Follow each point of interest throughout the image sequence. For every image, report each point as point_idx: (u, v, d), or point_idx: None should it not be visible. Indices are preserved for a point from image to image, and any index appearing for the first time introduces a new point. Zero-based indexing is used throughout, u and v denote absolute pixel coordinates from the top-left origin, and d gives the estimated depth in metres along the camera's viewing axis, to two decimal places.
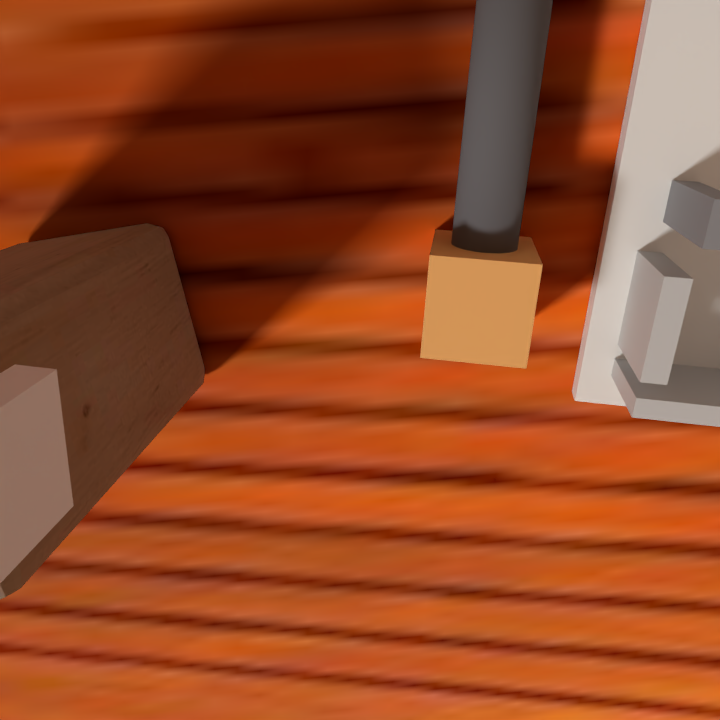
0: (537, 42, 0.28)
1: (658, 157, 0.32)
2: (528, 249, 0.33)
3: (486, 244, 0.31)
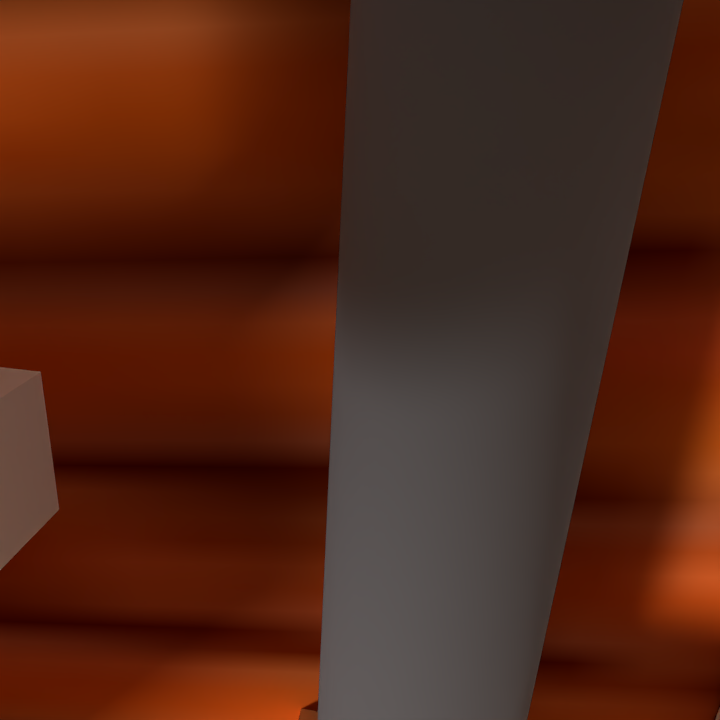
0: (550, 504, 0.08)
1: None
2: None
3: None
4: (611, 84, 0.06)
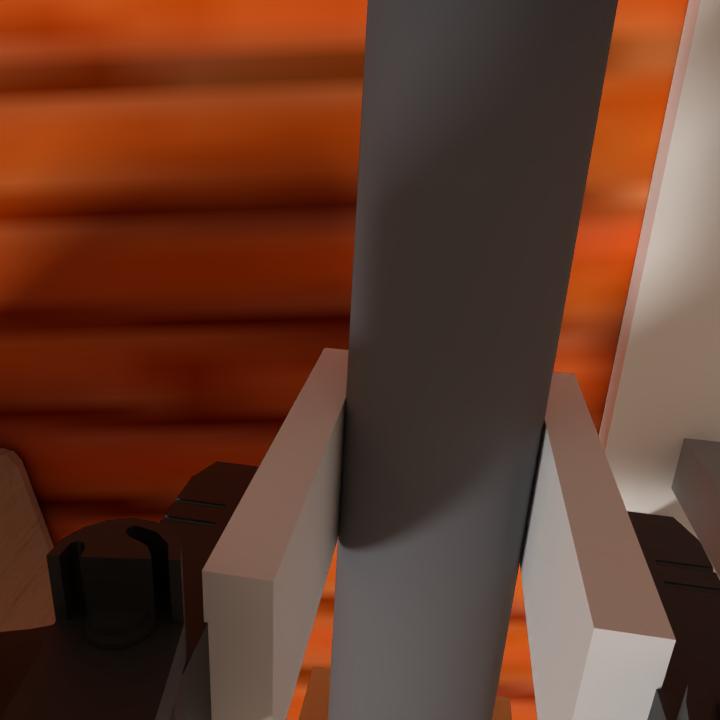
0: (516, 454, 0.10)
1: (665, 409, 0.23)
2: None
3: None
4: (549, 141, 0.08)
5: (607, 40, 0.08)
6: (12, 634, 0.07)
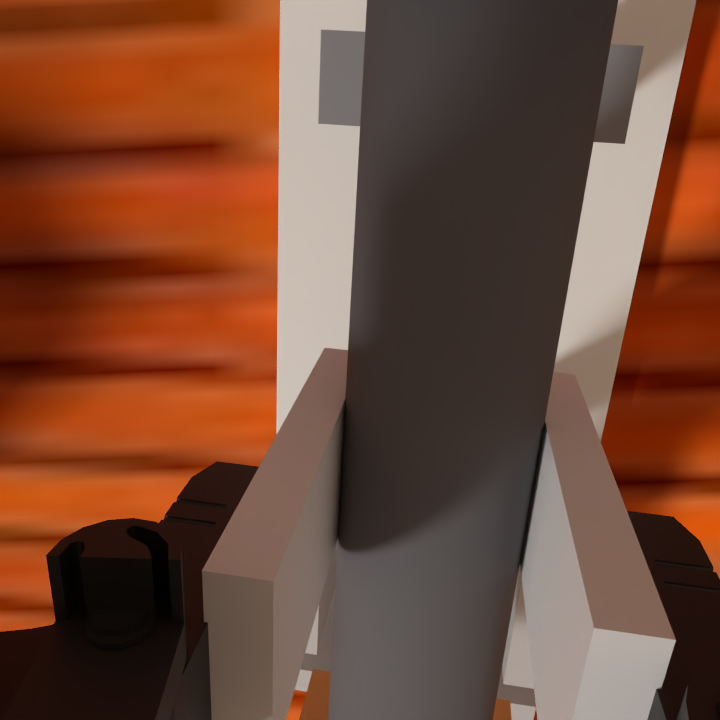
0: (516, 458, 0.10)
1: (321, 346, 0.25)
2: None
3: None
4: (550, 143, 0.08)
5: (607, 42, 0.08)
6: (12, 634, 0.07)
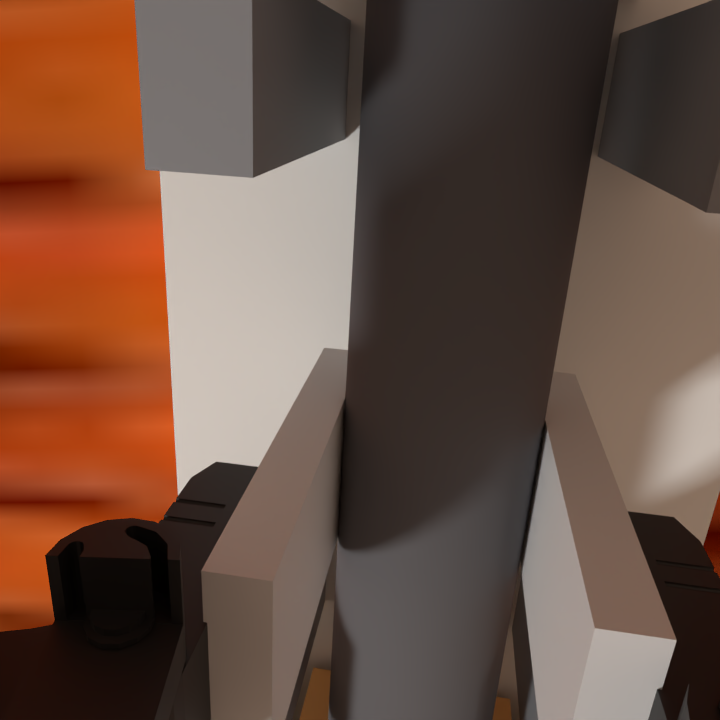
0: (515, 458, 0.10)
1: None
2: None
3: None
4: (549, 144, 0.08)
5: (607, 43, 0.08)
6: (11, 634, 0.07)
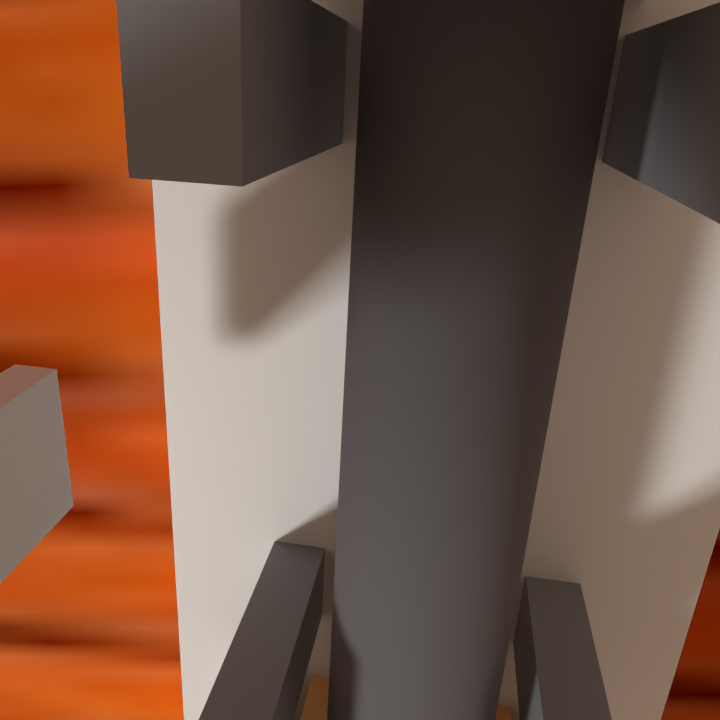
0: (516, 474, 0.10)
1: (239, 501, 0.16)
2: None
3: None
4: (552, 156, 0.08)
5: (612, 50, 0.08)
6: None
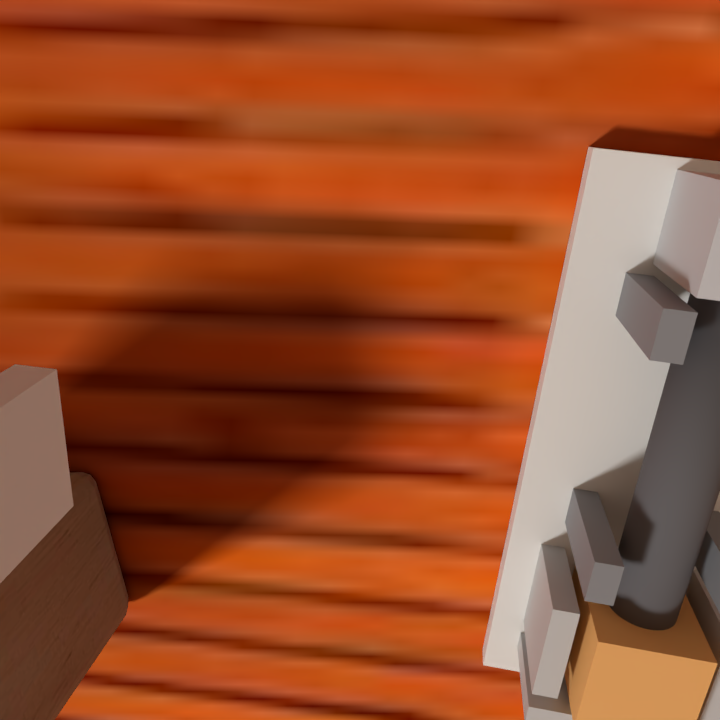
0: None
1: (560, 468, 0.33)
2: (687, 615, 0.32)
3: (651, 622, 0.30)
4: None
5: None
6: None
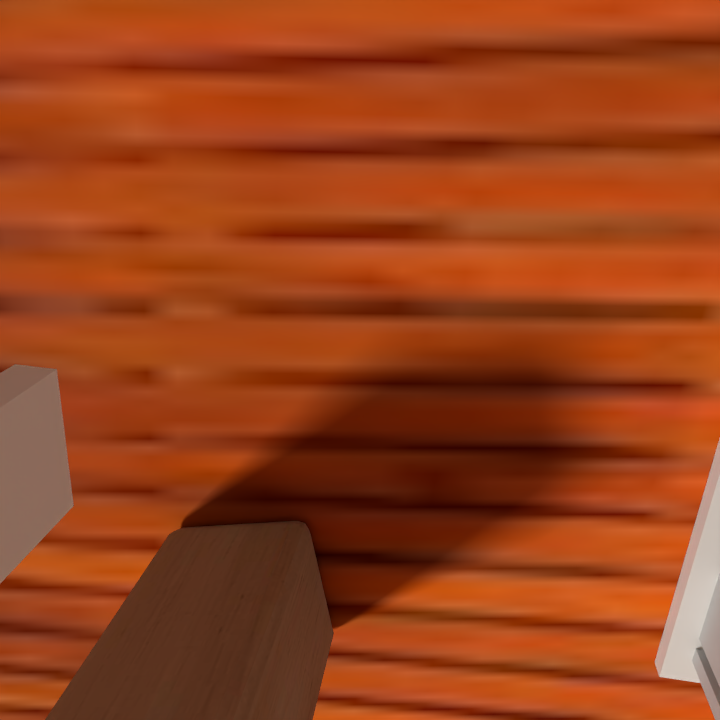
0: None
1: None
2: None
3: None
4: None
5: None
6: None
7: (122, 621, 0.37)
